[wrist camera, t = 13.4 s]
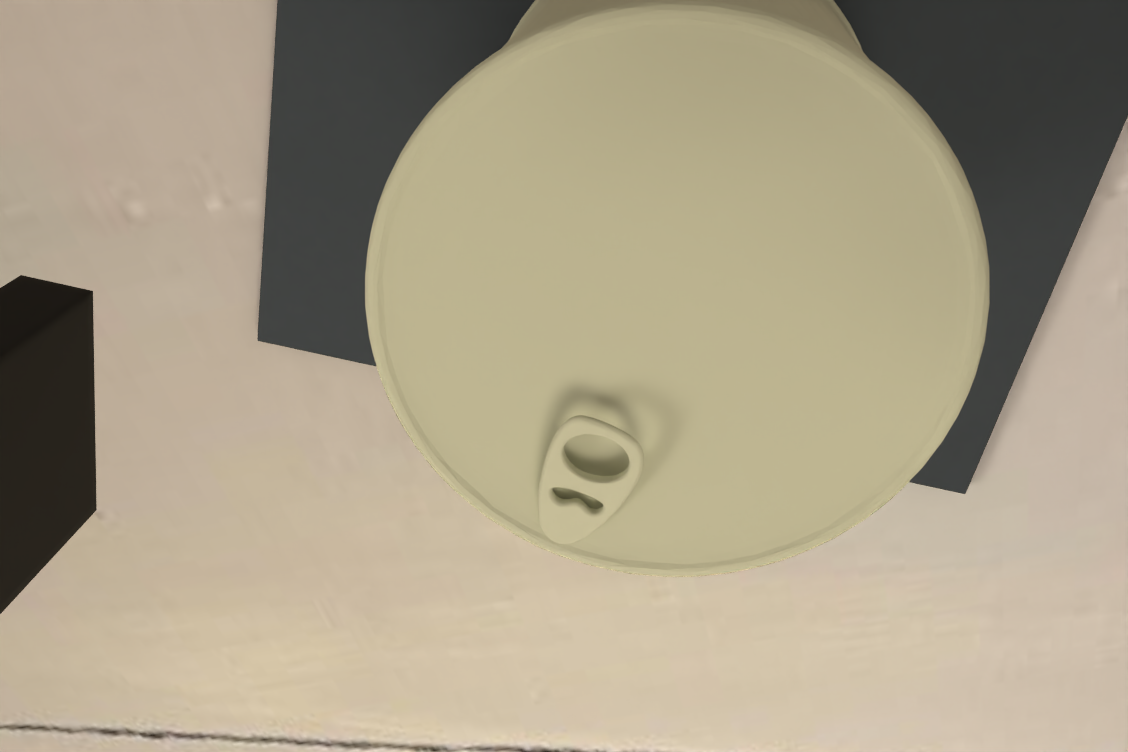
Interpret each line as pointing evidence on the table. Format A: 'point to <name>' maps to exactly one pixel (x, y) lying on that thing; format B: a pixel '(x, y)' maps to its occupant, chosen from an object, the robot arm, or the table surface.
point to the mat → (887, 37)
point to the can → (677, 283)
